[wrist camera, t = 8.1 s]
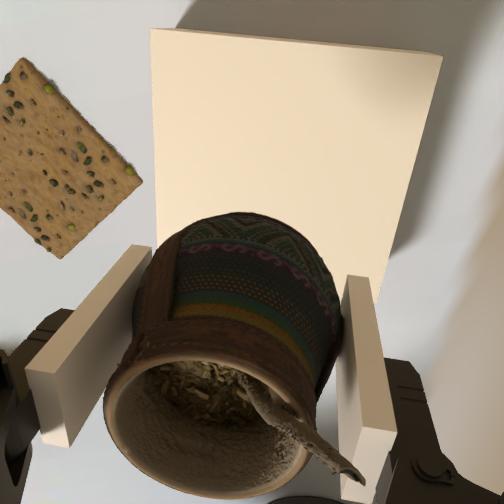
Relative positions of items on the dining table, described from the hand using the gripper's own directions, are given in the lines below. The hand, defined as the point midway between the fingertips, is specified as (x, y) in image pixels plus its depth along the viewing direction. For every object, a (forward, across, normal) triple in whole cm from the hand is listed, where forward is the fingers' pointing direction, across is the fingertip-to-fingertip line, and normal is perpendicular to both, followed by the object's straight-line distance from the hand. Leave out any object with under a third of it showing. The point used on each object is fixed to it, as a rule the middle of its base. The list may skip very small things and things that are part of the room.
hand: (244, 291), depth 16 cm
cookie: (+18, +19, +3) cm, 26 cm away
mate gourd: (+2, 0, 0) cm, 2 cm away
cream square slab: (+17, 0, 0) cm, 17 cm away
